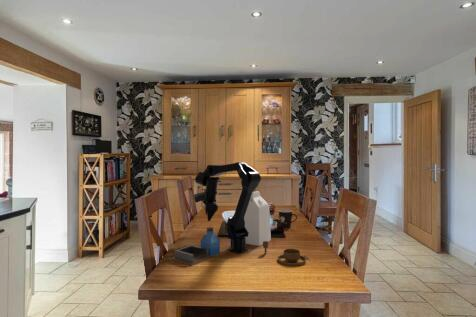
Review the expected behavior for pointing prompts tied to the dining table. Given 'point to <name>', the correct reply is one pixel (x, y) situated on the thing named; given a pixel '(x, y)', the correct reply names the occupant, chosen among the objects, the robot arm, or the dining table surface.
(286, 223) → the coffee mug
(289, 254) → the place setting
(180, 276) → the dining table surface
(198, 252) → the grey square tray
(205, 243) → the perfume bottle
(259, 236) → the milk
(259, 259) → the dining table surface
